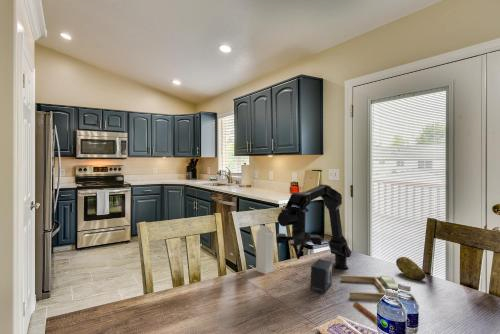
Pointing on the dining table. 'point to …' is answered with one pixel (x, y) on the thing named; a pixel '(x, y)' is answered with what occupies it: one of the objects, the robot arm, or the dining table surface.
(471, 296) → the dining table surface
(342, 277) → the light tan flat part
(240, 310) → the dining table surface
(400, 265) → the potato
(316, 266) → the small box
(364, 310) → the chocolate bar
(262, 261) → the milk
